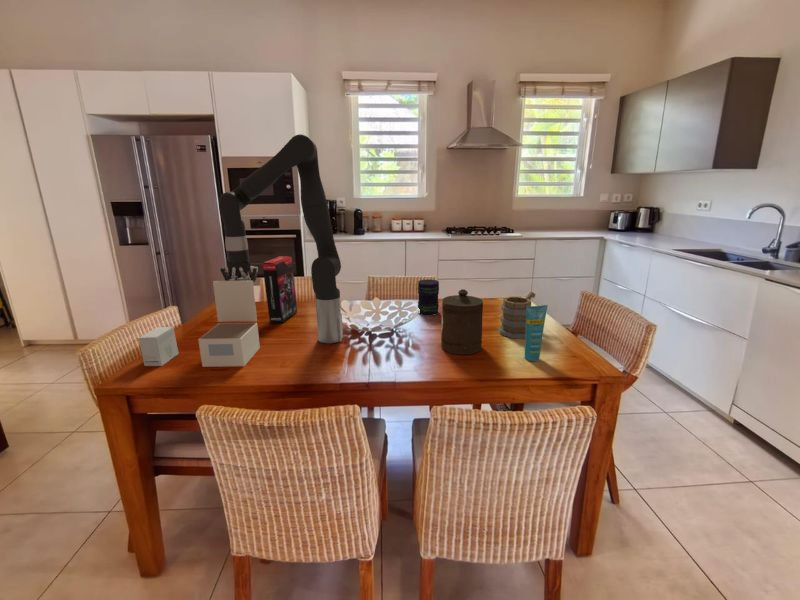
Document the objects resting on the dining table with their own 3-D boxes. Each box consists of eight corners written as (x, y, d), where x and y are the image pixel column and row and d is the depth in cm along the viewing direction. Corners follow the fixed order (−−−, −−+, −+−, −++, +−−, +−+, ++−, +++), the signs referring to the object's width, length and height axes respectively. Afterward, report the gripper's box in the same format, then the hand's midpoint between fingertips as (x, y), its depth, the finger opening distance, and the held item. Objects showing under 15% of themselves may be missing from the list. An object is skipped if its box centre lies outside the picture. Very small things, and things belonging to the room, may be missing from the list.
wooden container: (457, 337, 160) (459, 283, 154) (489, 347, 150) (492, 289, 144) (432, 347, 150) (433, 290, 144) (465, 358, 140) (467, 297, 134)
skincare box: (161, 353, 146) (156, 326, 143) (179, 353, 146) (174, 326, 143) (143, 366, 136) (137, 337, 133) (161, 366, 136) (156, 337, 133)
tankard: (519, 340, 156) (522, 303, 151) (492, 332, 165) (494, 297, 161) (546, 329, 168) (550, 294, 164) (520, 321, 177) (522, 288, 173)
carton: (259, 347, 151) (257, 322, 148) (244, 366, 135) (240, 338, 132) (222, 348, 150) (218, 322, 148) (202, 366, 135) (198, 338, 132)
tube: (525, 362, 136) (530, 308, 131) (518, 356, 141) (522, 304, 136) (545, 360, 138) (550, 306, 133) (537, 354, 143) (542, 302, 137)
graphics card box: (282, 324, 177) (277, 262, 169) (267, 323, 178) (261, 262, 170) (297, 312, 193) (293, 256, 185) (284, 311, 194) (279, 255, 186)
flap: (256, 321, 147) (265, 312, 157) (252, 280, 143) (262, 275, 153) (218, 321, 147) (229, 313, 157) (212, 281, 143) (225, 275, 153)
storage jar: (439, 315, 186) (440, 284, 182) (418, 315, 187) (418, 284, 182) (437, 309, 196) (438, 279, 192) (417, 309, 196) (417, 279, 192)
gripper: (259, 246, 151) (264, 291, 156) (222, 247, 151) (227, 291, 156) (253, 249, 144) (258, 296, 149) (213, 250, 144) (219, 296, 149)
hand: (242, 293), depth 152 cm, fingers open, 4 cm apart
